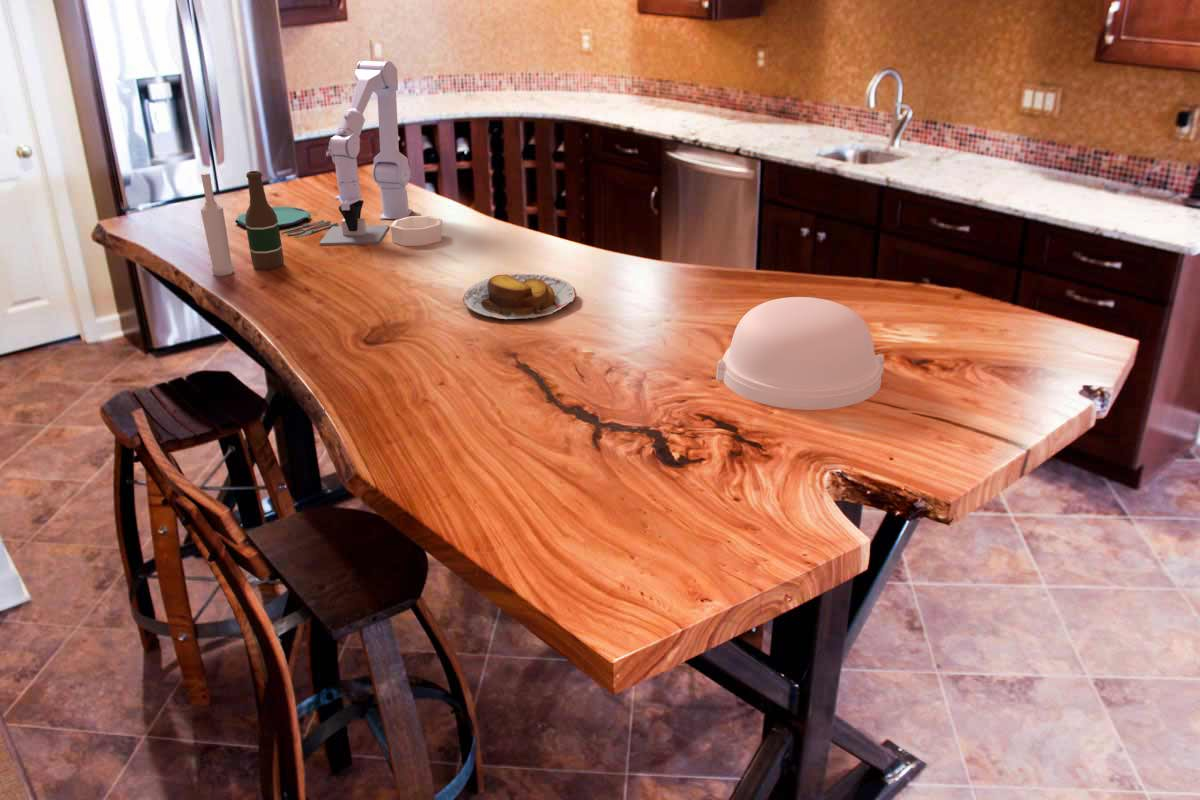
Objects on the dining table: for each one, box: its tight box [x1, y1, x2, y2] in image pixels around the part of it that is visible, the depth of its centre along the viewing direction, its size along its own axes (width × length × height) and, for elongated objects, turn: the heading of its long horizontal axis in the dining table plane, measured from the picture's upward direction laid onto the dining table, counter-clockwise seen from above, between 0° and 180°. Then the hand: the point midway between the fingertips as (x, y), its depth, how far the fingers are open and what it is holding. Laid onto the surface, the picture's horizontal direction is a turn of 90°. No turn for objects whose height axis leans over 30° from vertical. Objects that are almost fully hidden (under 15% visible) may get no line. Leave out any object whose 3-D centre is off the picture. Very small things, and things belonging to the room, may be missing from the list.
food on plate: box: [462, 273, 577, 320], centre depth 238 cm, size 25×25×7 cm
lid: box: [318, 217, 390, 246], centre depth 291 cm, size 16×16×5 cm
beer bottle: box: [245, 170, 285, 271], centre depth 264 cm, size 8×8×24 cm
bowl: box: [390, 215, 444, 247], centre depth 287 cm, size 13×13×4 cm
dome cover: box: [715, 296, 885, 411], centre depth 197 cm, size 32×30×14 cm
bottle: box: [200, 172, 234, 277], centre depth 259 cm, size 5×5×25 cm
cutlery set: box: [234, 205, 339, 239], centre depth 304 cm, size 20×30×2 cm, turn 51°
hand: (354, 229), depth 291 cm, fingers closed on lid, 2 cm apart
